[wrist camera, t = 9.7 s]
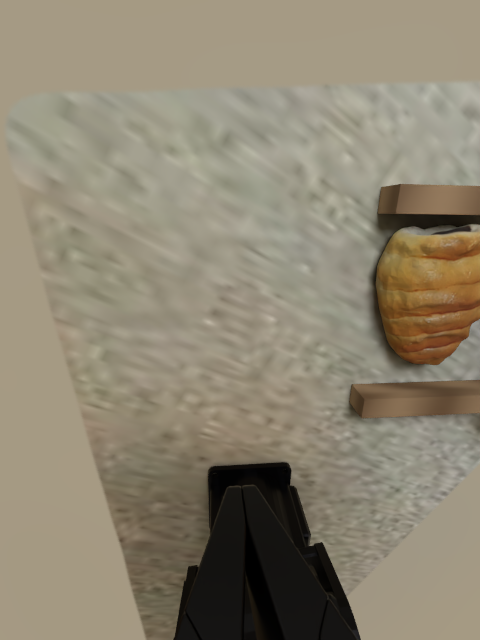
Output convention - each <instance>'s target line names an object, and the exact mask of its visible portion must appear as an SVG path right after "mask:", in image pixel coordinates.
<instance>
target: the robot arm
mask: <svg viewBox="0 0 480 640" xmlns="http://www.w3.org/2000/svg"><path fill="white" fill-rule="evenodd" d="M283 469H285V470H283ZM213 473H217V474H213ZM290 479H291V468H290V465H289V464H288V463H266V464H249V465H231V466H214V467H211V468H210V469H209V471H208V485H209V527H210V537H209V540H208V543H207V546H206V549H205V552H204V555H203V557H202V560H201V563H200V566H199V567H197V565H195V566H189V567H188V572H187V578H186V581H184V585H183V591H182V597H181V603H180V609H179V615H178V621H177V627H176V633H175V637H174V639H173V640H361V639H360V636H359V632H358V629H357V625H356V622H355V619H354V616H353V613H352V610H351V607H350V605H349V602H348V600H347V597H346V595H345V593H344V590H343V588H342V586H341V584H340V581H339V579H338V577H337V575H336V572H335V570H334V568H333V565H332V563H331V561H330V559H329V556H328V554H327V552H326V549H325V547H324V545H323V543H322V542H321V543H315V544H314V546H309V545H310V537H311V534H310V531H309V527H308V524H307V521H306V518H305V514H304V511H303V508H302V505H301V502H300V498H299V495H298V492H297V489H296V488H295V487H294V486H290Z"/></svg>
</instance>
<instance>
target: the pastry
mask: <svg viewBox="0 0 480 640" xmlns="http://www.w3.org/2000/svg"><path fill="white" fill-rule="evenodd" d="M375 284H376V289H377V298H378V302H379V310H380V313H381V318H382V322H383V326H384V330H385V334H386V338H387V341H388V343H389V344H390V346H391V347H392V348H393V350H394V351H395V352H396V353H397V354H398V355H399V356H400V357H401V358H402V359H404V360H407V361H409V362H411V363H416V364H430V365H438V364H440V363H441V362H442V361H443V360H444V359H445V358H447V357H448V356H450V355H451V354H452V353H453V352H454V351H455V350H456V348H457V347H458V346H459V344H460V343H461V341H463V340H464V339H466V338H467V337H468V336H469V329H470V326H471V324H472V323H474V322H475V321H477V320H479V319H480V225H478V224H469V225H465V226H461V227H458V228H457V227H455V226H454V225H440V226H437V227H431V228H427V229H425V230H423V229H421V228H419V227H416V226H411V227H404V228H401V229H400V230H398V231H397V232H395V233H394V234H393V236H392V237H391V239H390V241H389V242H388V244H387V246H386V248H385V250H384V252H383V254H382V256H381V258H380V260H379V263H378V265H377V278H376V283H375Z"/></svg>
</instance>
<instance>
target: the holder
mask: <svg viewBox="0 0 480 640" xmlns="http://www.w3.org/2000/svg"><path fill="white" fill-rule="evenodd" d="M378 214H434V215H480V186H453V185H414V184H399V185H392V186H386V187H381V194H380V201H379V207H378ZM349 402H350V403H351V405H352V406H353V407H354V409H355V410H356V411H357V413H358V414H359V416H360V417H361V418H378V417H400V416H423V415H445V414H468V413H480V380H466V381H437V382H408V383H379V384H352V388H351V394H350V401H349Z"/></svg>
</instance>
